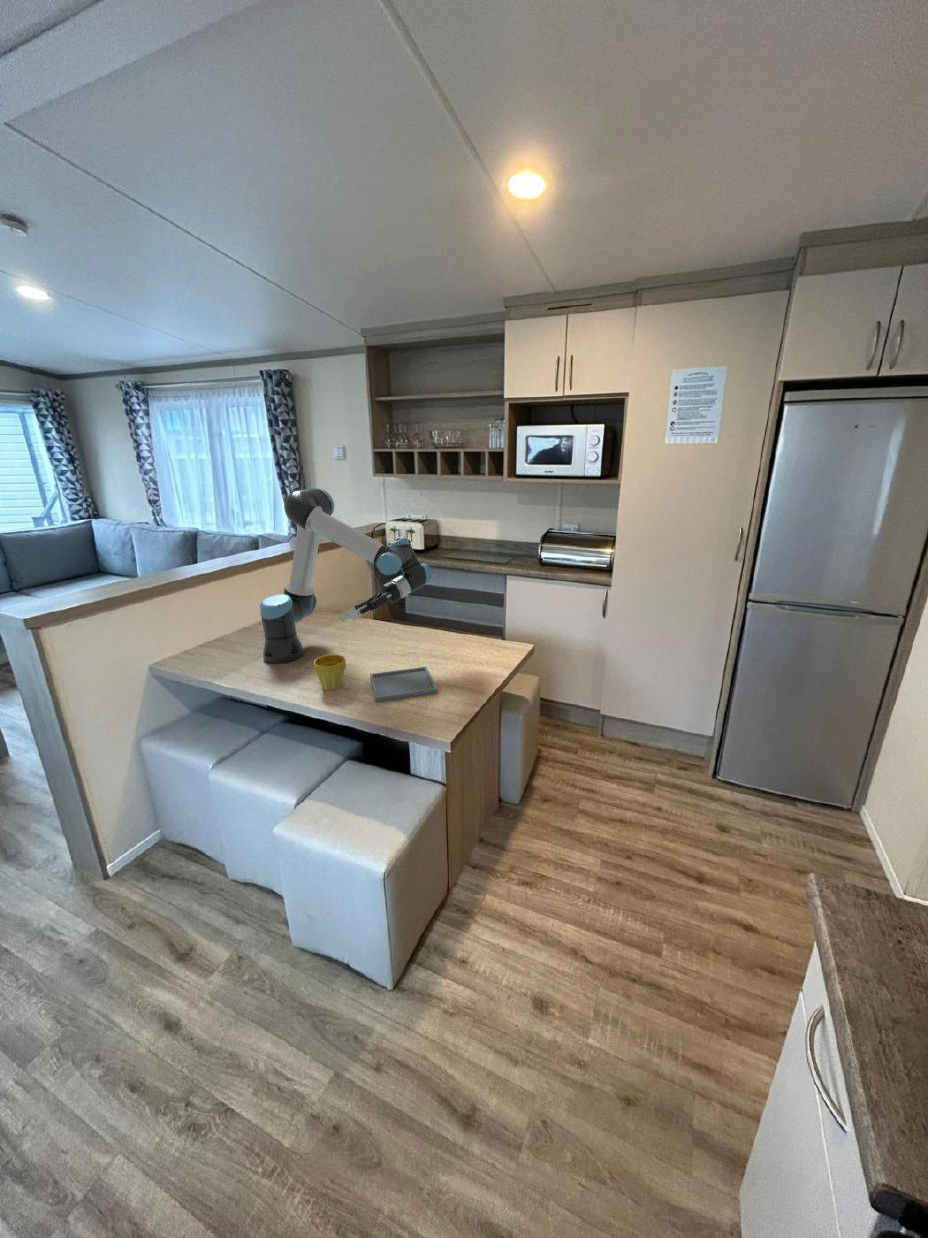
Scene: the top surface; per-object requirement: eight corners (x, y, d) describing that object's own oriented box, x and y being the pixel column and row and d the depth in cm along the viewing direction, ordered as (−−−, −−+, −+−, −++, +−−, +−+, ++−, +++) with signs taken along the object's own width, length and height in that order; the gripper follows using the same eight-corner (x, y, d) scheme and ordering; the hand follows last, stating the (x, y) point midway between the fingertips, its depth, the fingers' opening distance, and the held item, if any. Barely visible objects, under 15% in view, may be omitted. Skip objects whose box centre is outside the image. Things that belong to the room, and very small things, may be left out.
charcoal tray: (375, 702, 153) (375, 697, 153) (370, 678, 170) (370, 673, 169) (437, 693, 158) (436, 688, 158) (426, 671, 175) (426, 666, 174)
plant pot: (353, 681, 168) (351, 655, 164) (337, 695, 159) (333, 668, 155) (328, 677, 171) (325, 652, 168) (310, 691, 162) (306, 664, 159)
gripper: (413, 596, 168) (362, 626, 158) (388, 601, 189) (341, 628, 180) (403, 577, 166) (350, 606, 157) (379, 584, 188) (331, 610, 178)
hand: (345, 618), depth 168 cm, fingers open, 13 cm apart
